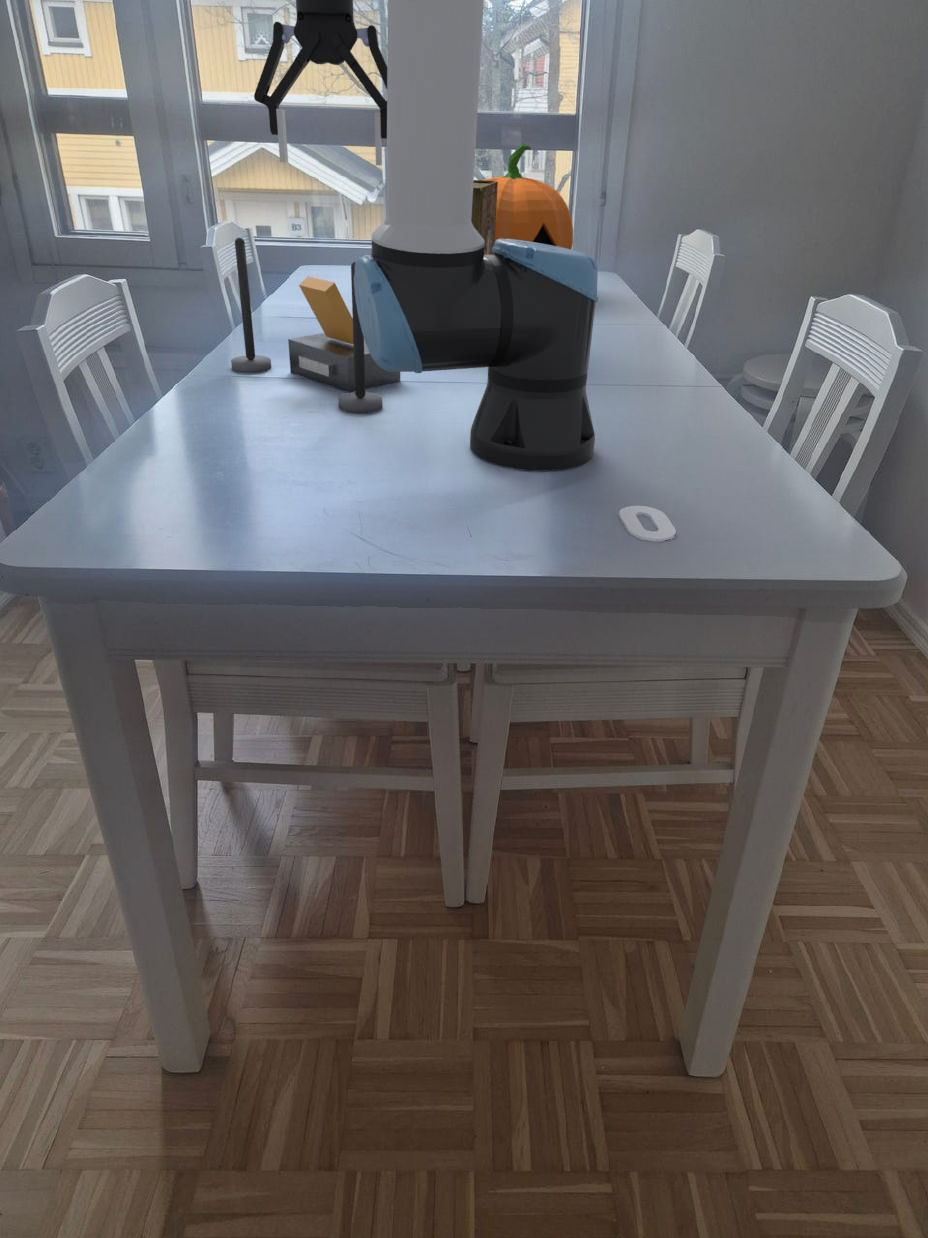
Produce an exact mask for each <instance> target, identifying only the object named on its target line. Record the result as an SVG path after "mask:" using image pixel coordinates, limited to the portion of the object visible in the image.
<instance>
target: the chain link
mask: <svg viewBox="0 0 928 1238" xmlns="http://www.w3.org/2000/svg"><path fill="white" fill-rule="evenodd" d="M637 514H646V515H649V517H650V518H651V519H652V521H653V522H654V524H655V525H656V527H657V528H658V530H656V531H653V530H652V531H651V530H648V529H645V527H644V526H643V525H642V523H641V521H640V520H639V518H638V517H637V516H636V515H637ZM618 517H619V518H620V519H621V520H620V519H619V520H620V522H621V521H622V522H623V524H624V525H623V524H622V525H623V527H624V526H625V527H624V529H625V528H626V529H627V530H626V529H625V530H626V532H627V531H629V532H630V533H632V534H634V535H636V536H639V537H643V538H649V539H656V540H657V539H666V538H670V537H672V536H674V535H675V534H677V530H676V528H675V526H674V525H673V524H672V522H671V521H670V519H669V517H668V516H667V514H665V512H663V511H661V510H659V509H658V508H653V507H651V506H645V505H630V506H625V507H623V508H622V509H620V510H619V512H618ZM649 517H648V518H649ZM650 518H649V519H650ZM652 521H651V522H652ZM622 522H621V523H622ZM654 524H653V525H654ZM656 527H655V528H656ZM675 536H676V535H675Z"/></svg>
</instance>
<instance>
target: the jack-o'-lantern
mask: <svg viewBox="0 0 928 1238" xmlns="http://www.w3.org/2000/svg"><path fill="white" fill-rule="evenodd" d="M527 150H529V151H531V150H532V148H531V146H530V145H528V144H524V143H521V144H520V145H519V146H518V148H517V149H515V151H514V152H513V153H512V154H510V155H509V157H508V163H507V164H508V165H507V173H506V174H505V175H503V176H496V177H490V178H489V177H488V178H486V179H484V180H485V181H497V182H498V187H497V207H496V228H495V241H496V240H497V239H515V240H523V241H530V242H536V243H541V244H547V245H552V246H557V247H562V248H566V249H570V250H573V243H574V227H573V226H574V225H573V219H572V215H571V212H570V210H569V207H568V204H567V203H566V202H565V200H564V198H563V196H562V195H561V194H560V193H559V192H558V191H557V190H556V189H555V188H553V187H551V186H550V185H548V184H547V183H545V182H542V181H540V180H537V179H534V178H529V177H524V176H522V175H521V173H520V169H519V168H518V164H519V161H520V160H521V158H522V156H523V154H524V153H525V151H527Z"/></svg>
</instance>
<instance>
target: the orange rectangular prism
mask: <svg viewBox="0 0 928 1238" xmlns="http://www.w3.org/2000/svg"><path fill="white" fill-rule="evenodd" d="M298 287H299V289H300V291H302V294H303V296H304V297H305V299H306V301H307V303H308V305H309V307H310V309H311V310H312V312H313V314H314V316H315V318H316V321H317V322H318V324H319V325H320V328H321V329H322V331H323V333H325V335H326V337H329V338H332V339H336V340H339V341H342V342H346V343H349V344H353V315H352V313H350V311H349V308H348V306H347V305H346V302H345V300H344V299H343V296H342V294H341V292H340V291H339V289H338V287H337V285H336V282H335V281H330V280H325V279H322V278H317V277H313V276H307V277H305V278H304V279H303V280H302V282H300V283H299V284H298Z"/></svg>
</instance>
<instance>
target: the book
mask: <svg viewBox="0 0 928 1238" xmlns="http://www.w3.org/2000/svg"><path fill="white" fill-rule="evenodd" d="M485 180H486V179H483V180H481V179H474V182H473V199H472V216H471V222H472V224H473V226H474V228H475V229H476V230H477V232H478V233H479V234H480V235H481V236H482V238H483V239H484V241H485V246H484V255H493V252H492V248H493V247H494V243H495V228H496V207H497V187H498V182H497V181H485Z"/></svg>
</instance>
